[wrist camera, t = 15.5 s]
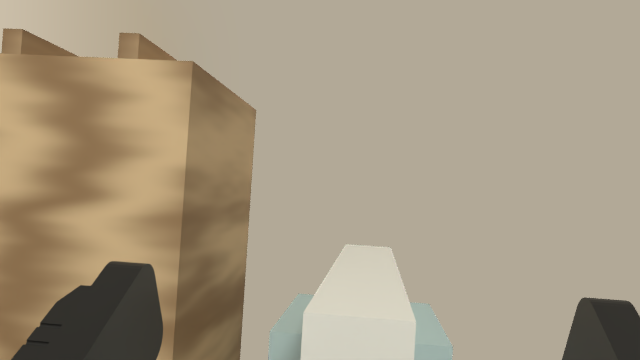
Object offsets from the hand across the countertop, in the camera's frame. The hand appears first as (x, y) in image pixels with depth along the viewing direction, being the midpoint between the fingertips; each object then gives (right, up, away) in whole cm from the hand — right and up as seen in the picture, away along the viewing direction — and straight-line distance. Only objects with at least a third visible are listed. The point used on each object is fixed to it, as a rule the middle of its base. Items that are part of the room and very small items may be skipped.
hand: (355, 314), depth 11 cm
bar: (+1, -4, +16) cm, 16 cm away
